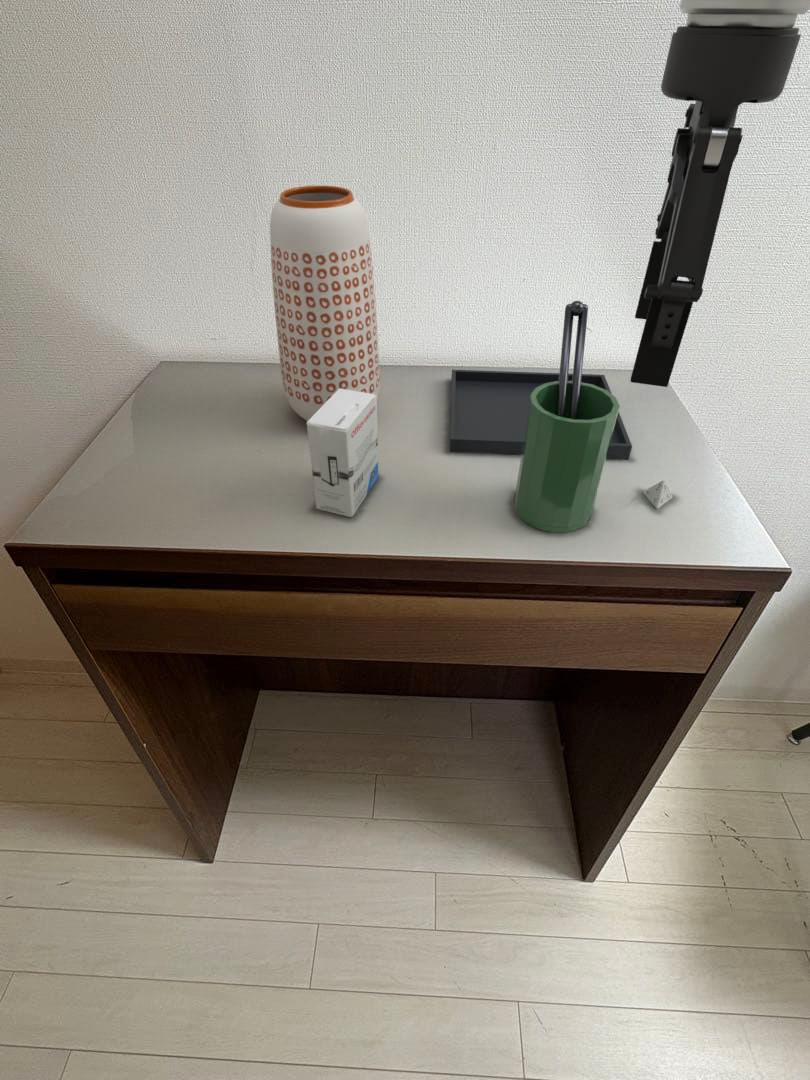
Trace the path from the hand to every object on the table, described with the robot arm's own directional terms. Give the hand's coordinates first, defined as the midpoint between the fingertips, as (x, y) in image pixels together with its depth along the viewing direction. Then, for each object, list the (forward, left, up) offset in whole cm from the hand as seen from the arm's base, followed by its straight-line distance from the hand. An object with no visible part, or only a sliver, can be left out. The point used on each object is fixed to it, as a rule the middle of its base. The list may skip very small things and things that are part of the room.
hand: (649, 348), depth 52 cm
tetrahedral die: (-5, -11, -23) cm, 26 cm away
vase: (+40, -13, -23) cm, 48 cm away
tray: (+14, -24, -23) cm, 36 cm away
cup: (+6, -5, -23) cm, 24 cm away
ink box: (+29, +3, -23) cm, 37 cm away
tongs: (+7, -6, -11) cm, 15 cm away
